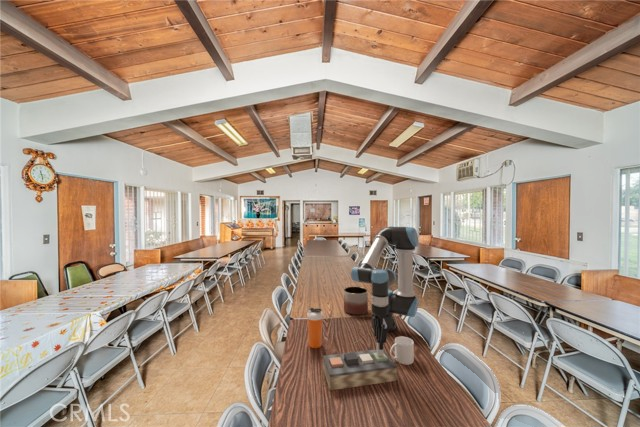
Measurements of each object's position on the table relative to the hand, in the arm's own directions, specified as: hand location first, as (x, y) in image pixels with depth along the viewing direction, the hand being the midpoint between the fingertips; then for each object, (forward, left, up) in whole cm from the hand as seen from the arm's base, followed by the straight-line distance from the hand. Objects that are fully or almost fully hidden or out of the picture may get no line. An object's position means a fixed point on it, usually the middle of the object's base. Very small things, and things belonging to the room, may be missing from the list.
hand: (380, 354), depth 115 cm
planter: (-13, -70, -8) cm, 72 cm away
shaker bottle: (+25, -29, -8) cm, 39 cm away
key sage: (0, 0, -4) cm, 4 cm away
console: (+10, 0, -8) cm, 13 cm away
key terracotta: (+21, 0, -4) cm, 21 cm away
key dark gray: (+14, 0, -3) cm, 14 cm away
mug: (-15, -7, -8) cm, 18 cm away
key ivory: (+7, 0, -4) cm, 8 cm away
